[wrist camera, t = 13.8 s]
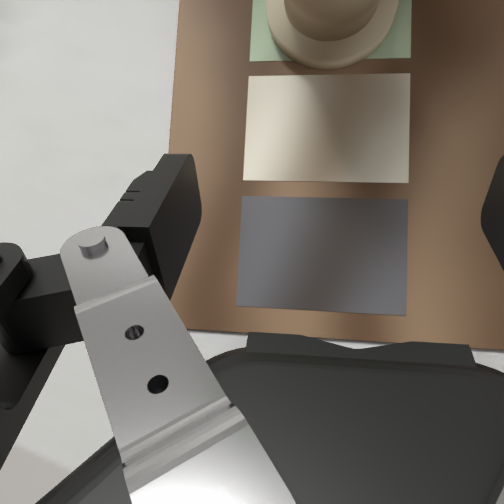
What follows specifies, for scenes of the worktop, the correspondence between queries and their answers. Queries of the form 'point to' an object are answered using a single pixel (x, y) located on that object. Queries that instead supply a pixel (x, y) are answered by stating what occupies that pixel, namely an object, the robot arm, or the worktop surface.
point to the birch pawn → (329, 29)
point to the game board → (343, 177)
